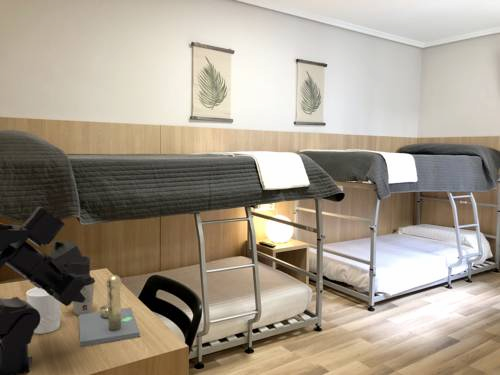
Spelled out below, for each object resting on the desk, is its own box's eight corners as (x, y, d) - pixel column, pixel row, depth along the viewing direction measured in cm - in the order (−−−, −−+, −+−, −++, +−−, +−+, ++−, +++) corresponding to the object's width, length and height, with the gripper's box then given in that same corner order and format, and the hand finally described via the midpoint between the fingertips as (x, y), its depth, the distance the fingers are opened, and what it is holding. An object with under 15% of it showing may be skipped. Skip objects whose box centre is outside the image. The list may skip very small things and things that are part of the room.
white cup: (30, 324, 110) (28, 287, 109) (63, 320, 113) (61, 283, 112) (26, 337, 103) (24, 297, 102) (61, 332, 105) (59, 293, 104)
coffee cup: (90, 316, 115) (89, 281, 114) (65, 316, 115) (63, 281, 114) (99, 307, 122) (98, 273, 121) (75, 307, 122) (74, 273, 121)
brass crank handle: (99, 313, 114) (98, 264, 112) (116, 310, 116) (115, 262, 114) (106, 332, 102) (104, 278, 101) (125, 328, 104) (123, 276, 103)
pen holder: (58, 288, 138) (57, 258, 137) (88, 283, 142) (87, 254, 141) (60, 297, 130) (59, 265, 129) (92, 292, 134) (91, 261, 133)
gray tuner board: (139, 336, 103) (139, 331, 103) (80, 346, 98) (79, 341, 98) (131, 311, 119) (131, 307, 118) (79, 319, 113) (79, 314, 113)
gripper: (75, 239, 86) (125, 280, 95) (41, 227, 99) (88, 263, 108) (36, 285, 81) (93, 324, 90) (6, 266, 94) (58, 301, 103)
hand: (83, 300), depth 98 cm, fingers closed
